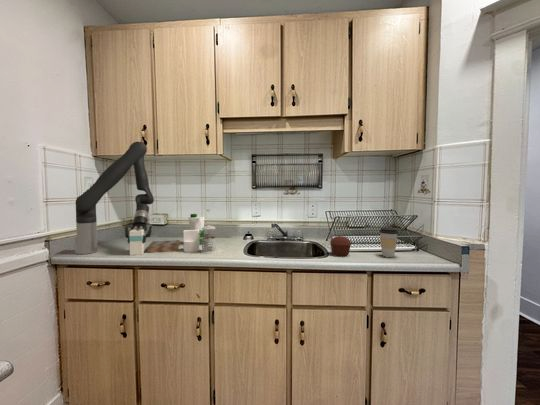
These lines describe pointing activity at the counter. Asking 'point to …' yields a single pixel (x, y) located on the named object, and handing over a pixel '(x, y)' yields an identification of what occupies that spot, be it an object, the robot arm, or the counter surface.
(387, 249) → the coffee cup
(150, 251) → the brown shallow square tray
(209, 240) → the french press
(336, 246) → the muffin
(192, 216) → the milk carton
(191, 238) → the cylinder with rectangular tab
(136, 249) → the cream carton
